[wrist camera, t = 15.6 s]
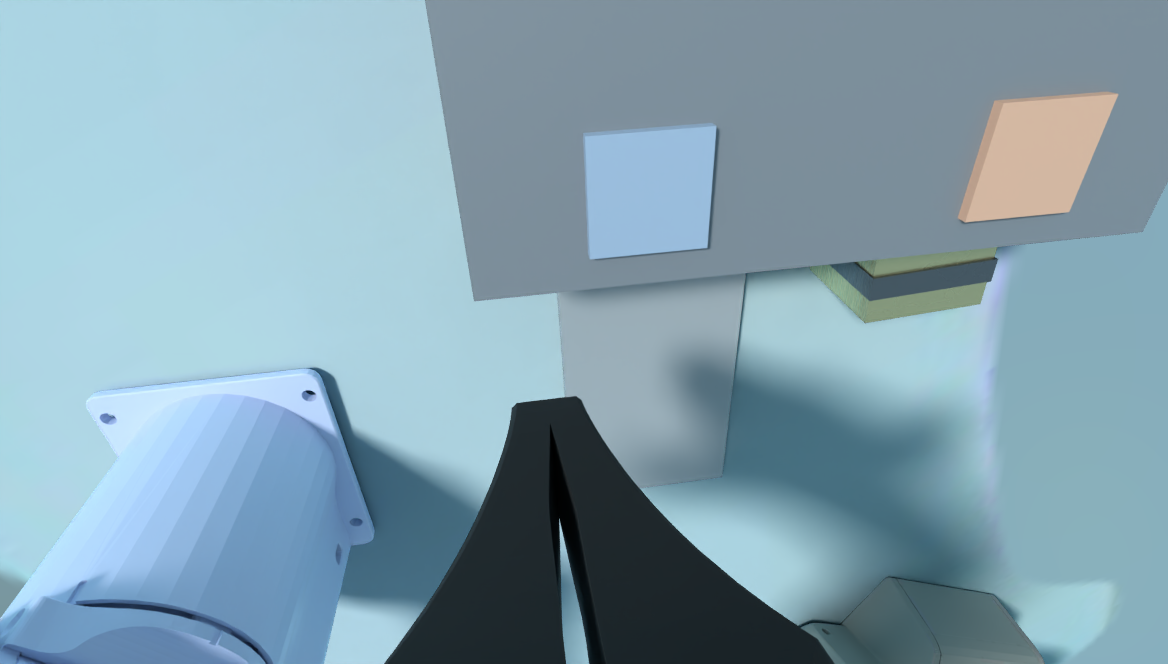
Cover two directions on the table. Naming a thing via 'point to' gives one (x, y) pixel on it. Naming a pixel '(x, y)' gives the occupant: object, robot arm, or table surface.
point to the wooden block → (910, 283)
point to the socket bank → (790, 131)
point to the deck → (656, 371)
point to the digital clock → (926, 628)
